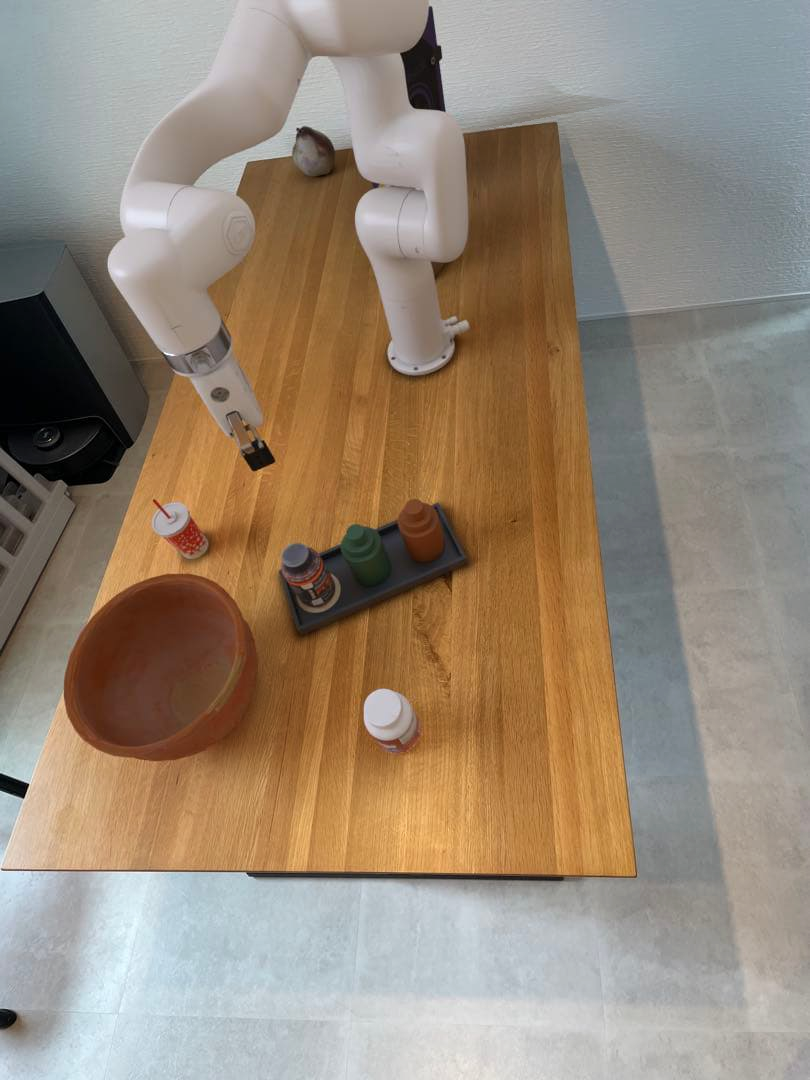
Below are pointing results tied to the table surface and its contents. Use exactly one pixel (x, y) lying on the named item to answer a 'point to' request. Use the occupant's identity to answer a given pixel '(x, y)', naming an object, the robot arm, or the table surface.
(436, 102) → the book
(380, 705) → the pill bottle
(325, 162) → the fruit
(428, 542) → the amber bottle
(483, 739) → the table surface
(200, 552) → the beverage cup
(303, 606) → the target spot
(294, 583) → the supplement bottle
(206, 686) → the bowl
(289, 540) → the table surface
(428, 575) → the tray
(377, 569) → the green bottle
